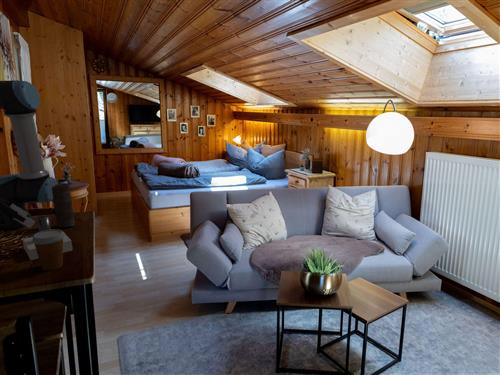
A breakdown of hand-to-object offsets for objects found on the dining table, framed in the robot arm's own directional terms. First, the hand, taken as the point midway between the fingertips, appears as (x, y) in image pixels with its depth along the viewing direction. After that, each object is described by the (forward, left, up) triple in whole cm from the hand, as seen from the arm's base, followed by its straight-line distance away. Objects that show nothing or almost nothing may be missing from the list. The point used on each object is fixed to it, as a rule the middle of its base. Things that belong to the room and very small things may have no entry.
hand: (29, 220), depth 132 cm
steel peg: (-1, +5, -13) cm, 14 cm away
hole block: (-1, +5, -13) cm, 14 cm away
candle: (-26, +17, -13) cm, 33 cm away
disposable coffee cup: (+17, +3, -13) cm, 22 cm away
